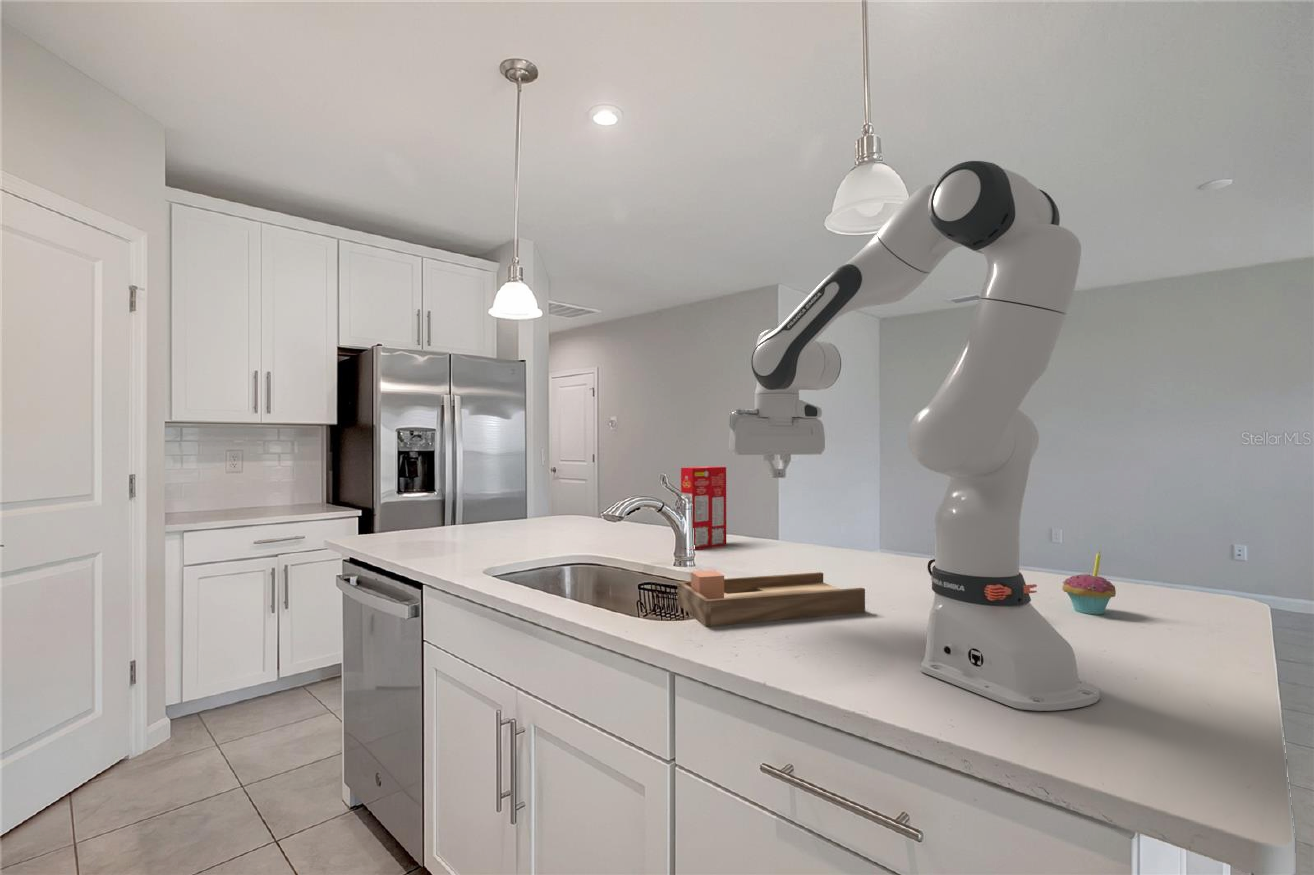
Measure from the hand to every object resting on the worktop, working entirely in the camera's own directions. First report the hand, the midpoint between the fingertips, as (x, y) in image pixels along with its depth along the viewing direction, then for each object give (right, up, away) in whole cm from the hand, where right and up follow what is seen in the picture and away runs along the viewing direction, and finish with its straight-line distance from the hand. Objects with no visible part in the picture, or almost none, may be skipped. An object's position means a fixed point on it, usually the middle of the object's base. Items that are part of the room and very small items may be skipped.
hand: (777, 477), depth 126 cm
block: (-15, -23, -5) cm, 28 cm away
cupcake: (+60, -26, -5) cm, 65 cm away
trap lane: (-2, -26, -2) cm, 26 cm away
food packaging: (-10, -27, +71) cm, 76 cm away
